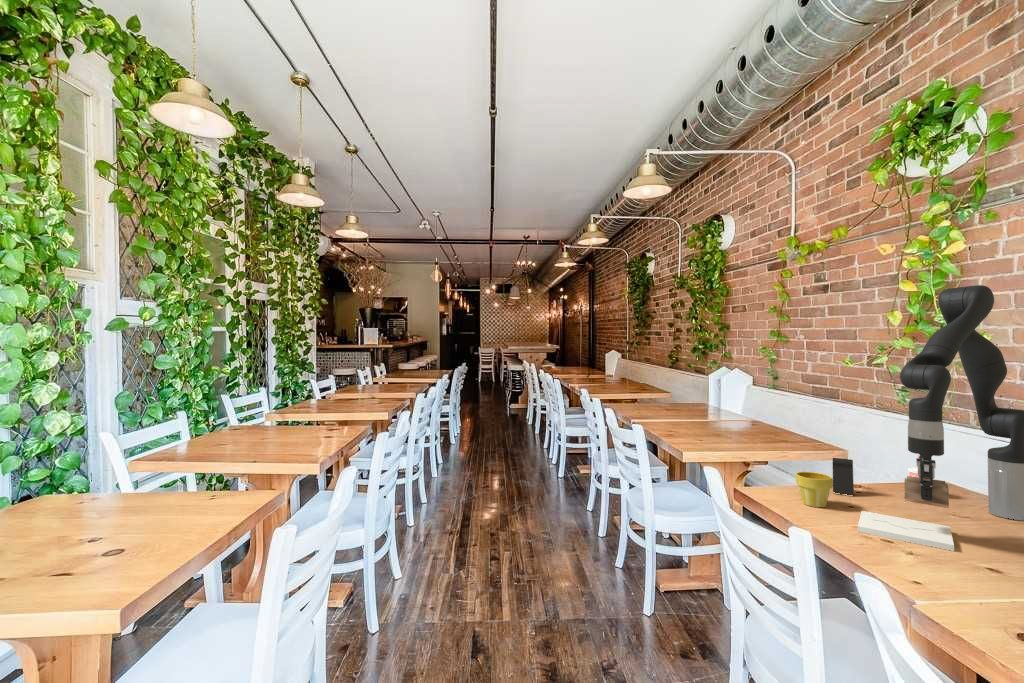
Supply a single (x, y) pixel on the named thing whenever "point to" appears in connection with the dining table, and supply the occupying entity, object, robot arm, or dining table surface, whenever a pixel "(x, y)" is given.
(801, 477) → the plant pot
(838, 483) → the phone stand
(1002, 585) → the dining table surface
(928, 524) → the board
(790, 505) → the dining table surface
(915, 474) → the beverage cup
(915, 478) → the block
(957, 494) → the dining table surface
